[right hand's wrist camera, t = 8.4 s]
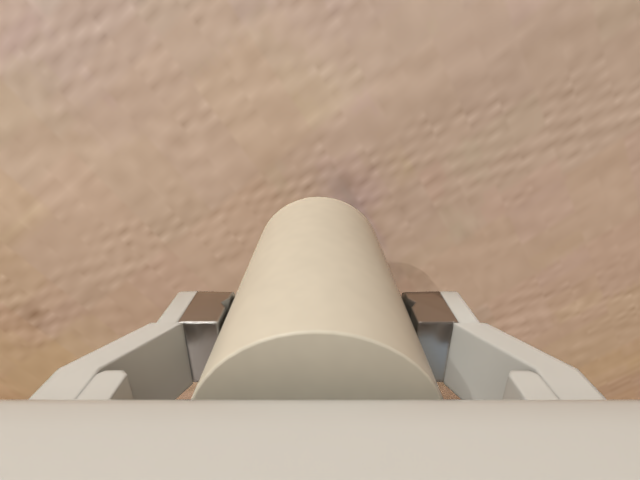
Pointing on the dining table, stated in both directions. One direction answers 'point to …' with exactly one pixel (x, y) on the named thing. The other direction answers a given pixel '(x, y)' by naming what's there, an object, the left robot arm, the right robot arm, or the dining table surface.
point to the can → (317, 317)
